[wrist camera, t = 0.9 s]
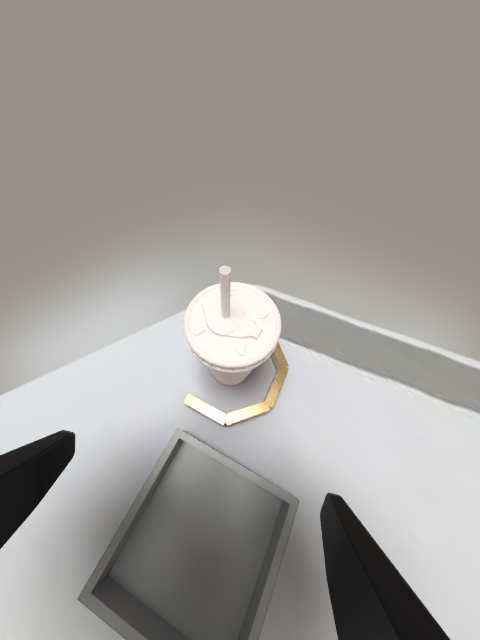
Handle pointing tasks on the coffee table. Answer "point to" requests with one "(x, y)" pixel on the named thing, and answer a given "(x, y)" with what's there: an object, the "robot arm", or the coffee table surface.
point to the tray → (194, 550)
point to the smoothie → (232, 328)
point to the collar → (251, 410)
